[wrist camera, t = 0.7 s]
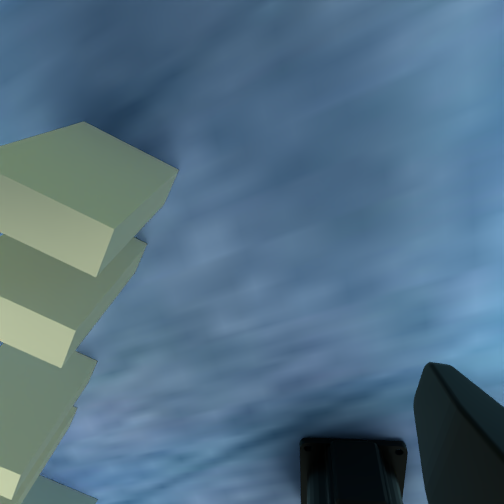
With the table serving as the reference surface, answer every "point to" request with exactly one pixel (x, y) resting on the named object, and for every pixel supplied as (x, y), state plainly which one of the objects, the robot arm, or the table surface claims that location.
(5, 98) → the table surface
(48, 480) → the domino
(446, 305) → the table surface
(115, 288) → the domino
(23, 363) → the domino
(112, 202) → the domino
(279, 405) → the table surface
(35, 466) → the domino
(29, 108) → the table surface
